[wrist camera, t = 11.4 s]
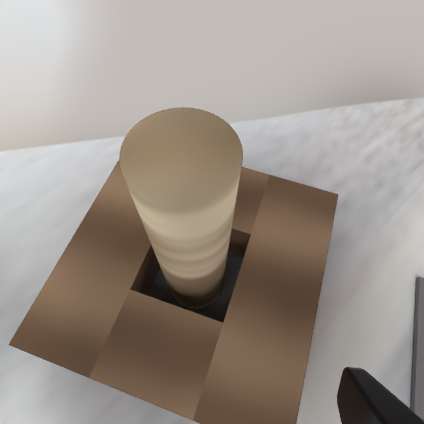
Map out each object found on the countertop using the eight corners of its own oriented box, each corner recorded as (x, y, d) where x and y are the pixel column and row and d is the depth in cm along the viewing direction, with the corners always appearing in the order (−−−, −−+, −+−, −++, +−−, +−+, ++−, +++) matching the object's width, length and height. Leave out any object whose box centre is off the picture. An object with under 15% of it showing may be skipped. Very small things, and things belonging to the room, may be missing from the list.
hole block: (272, 443, 17) (289, 459, 14) (45, 351, 19) (8, 344, 16) (318, 222, 23) (338, 194, 20) (143, 170, 25) (133, 136, 22)
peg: (231, 295, 21) (264, 180, 9) (179, 317, 20) (140, 224, 8) (210, 247, 22) (213, 95, 11) (161, 266, 22) (106, 126, 10)
